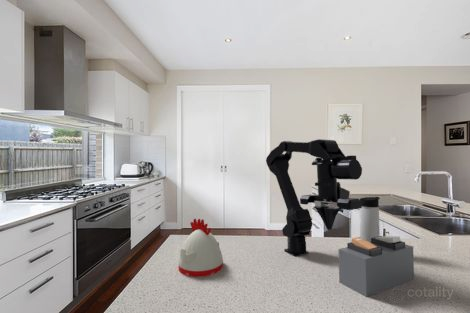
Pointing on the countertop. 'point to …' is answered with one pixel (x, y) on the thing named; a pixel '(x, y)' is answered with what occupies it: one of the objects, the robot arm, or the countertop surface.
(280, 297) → the countertop surface
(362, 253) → the switch box
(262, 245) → the countertop surface
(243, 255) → the countertop surface
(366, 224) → the travel mug
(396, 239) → the white rocker
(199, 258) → the kitchen timer
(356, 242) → the orange rocker
